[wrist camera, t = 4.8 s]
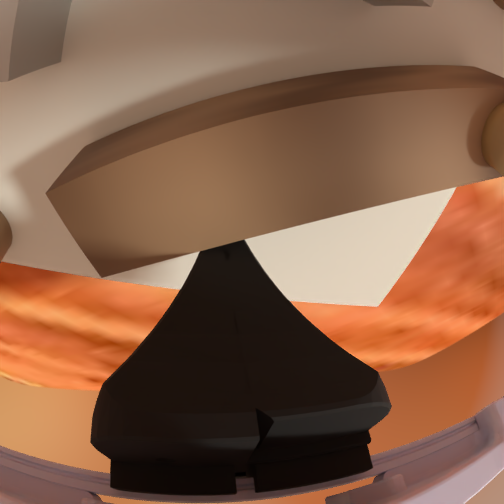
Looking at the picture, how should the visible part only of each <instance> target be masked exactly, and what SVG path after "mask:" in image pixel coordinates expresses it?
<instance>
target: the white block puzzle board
mask: <svg viewBox="0 0 504 504" xmlns="http://www.w3.org/2000/svg"><path fill="white" fill-rule="evenodd" d="M407 65H456V66H475V67H478V68H480V69H483V70H486V71H488V72H491V73H493V74H496V75H498V76H501V77H503V78H504V0H0V263H1V261H2V262H7V263H12V264H17V265H23V266H28V267H33V268H39V269H45V270H50V271H56V272H62V273H68V274H74V275H80V276H86V277H93V278H99V279H106V280H113V281H120V282H127V283H134V284H141V285H148V286H156V287H164V288H172V289H181V288H182V286H183V284H184V282H185V281H186V279H187V277H188V275H189V273H190V271H191V269H192V267H193V265H194V263H195V261H196V259H197V256H198V254H199V252H200V251H199V252H195V253H192V254H188V255H184V256H180V257H177V258H173V259H169V260H165V261H162V262H158V263H154V264H151V265H147V266H143V267H140V268H136V269H132V270H129V271H125V272H122V273H118V274H114V275H111V276H107V277H103V278H101V277H100V275H99V274H98V272H97V271H96V270H95V268H94V267H93V266H92V264H91V263H90V261H89V260H88V259H87V257H86V256H85V254H84V253H83V251H82V250H81V249H80V247H79V246H78V244H77V243H76V241H75V240H74V238H73V237H72V235H71V234H70V232H69V231H68V229H67V228H66V226H65V224H64V223H63V221H62V220H61V218H60V217H59V215H58V213H57V212H56V210H55V209H54V207H53V205H52V204H51V202H50V200H49V199H48V197H47V195H46V194H45V193H46V192H47V190H48V189H49V188H50V187H51V185H52V184H53V183H54V182H55V180H56V179H57V178H58V177H59V175H60V174H61V173H62V172H63V171H64V169H65V168H66V167H67V166H68V165H69V163H70V162H71V161H72V160H73V159H74V158H75V156H76V155H77V154H78V153H79V152H80V151H81V150H82V149H83V148H84V146H86V145H88V144H90V143H93V142H95V141H97V140H99V139H101V138H104V137H106V136H108V135H110V134H113V133H115V132H117V131H120V130H122V129H124V128H127V127H129V126H132V125H134V124H137V123H139V122H142V121H144V120H147V119H150V118H152V117H155V116H158V115H161V114H163V113H166V112H169V111H172V110H175V109H178V108H181V107H184V106H187V105H190V104H193V103H196V102H199V101H203V100H206V99H209V98H213V97H216V96H220V95H223V94H227V93H231V92H234V91H238V90H242V89H246V88H250V87H255V86H259V85H263V84H268V83H272V82H277V81H282V80H287V79H292V78H298V77H303V76H309V75H315V74H322V73H329V72H336V71H344V70H353V69H362V68H373V67H387V66H407ZM455 189H456V187H454V188H450V189H446V190H442V191H437V192H433V193H429V194H425V195H421V196H416V197H412V198H408V199H404V200H400V201H396V202H392V203H387V204H383V205H379V206H375V207H371V208H367V209H363V210H359V211H355V212H351V213H347V214H343V215H339V216H335V217H331V218H327V219H323V220H319V221H315V222H311V223H307V224H303V225H299V226H295V227H291V228H287V229H283V230H279V231H275V232H272V233H268V234H264V235H260V236H256V237H252V238H248V239H245V241H246V243H247V244H248V246H249V248H250V249H251V251H252V253H253V254H254V256H255V257H256V259H257V260H258V262H259V263H260V265H261V266H262V268H263V269H264V270H265V272H266V273H267V275H268V276H269V277H270V279H271V280H272V281H273V282H274V284H275V285H276V286H277V287H278V289H279V290H280V291H281V292H282V293H283V295H284V296H285V297H286V298H287V299H288V300H289V301H299V302H312V303H326V304H341V305H357V306H376V307H378V306H379V304H380V303H381V302H382V300H383V299H384V298H385V296H386V295H387V294H388V292H389V291H390V290H391V288H392V287H393V285H394V284H395V283H396V281H397V280H398V279H399V277H400V276H401V274H402V273H403V272H404V270H405V269H406V267H407V266H408V264H409V263H410V261H411V260H412V259H413V257H414V256H415V254H416V253H417V251H418V250H419V248H420V247H421V245H422V243H423V242H424V240H425V239H426V237H427V236H428V234H429V233H430V231H431V229H432V228H433V226H434V225H435V223H436V221H437V220H438V218H439V216H440V215H441V213H442V211H443V210H444V208H445V206H446V205H447V203H448V201H449V199H450V198H451V196H452V194H453V192H454V191H455Z"/></svg>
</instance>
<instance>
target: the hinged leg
mask: <svg viewBox="0 0 504 504" xmlns="http://www.w3.org/2000/svg"><path fill="white" fill-rule="evenodd" d="M502 176H504V78H503V77H501V76H498V75H496V74H493V73H491V72H488V71H486V70H483V69H480V68H478V67H475V66H456V65H407V66H387V67H373V68H362V69H353V70H344V71H336V72H329V73H322V74H315V75H309V76H303V77H298V78H292V79H287V80H282V81H277V82H272V83H268V84H263V85H259V86H255V87H250V88H246V89H242V90H238V91H234V92H231V93H227V94H223V95H220V96H216V97H213V98H209V99H206V100H203V101H199V102H196V103H193V104H190V105H187V106H184V107H181V108H178V109H175V110H172V111H169V112H166V113H163V114H161V115H158V116H155V117H152V118H150V119H147V120H144V121H142V122H139V123H137V124H134V125H132V126H129V127H127V128H124V129H122V130H120V131H117V132H115V133H113V134H110V135H108V136H106V137H104V138H101V139H99V140H97V141H95V142H93V143H90V144H88V145H86V146H84V148H83V149H82V150H81V151H80V152H79V153H78V154H77V155H76V156H75V158H74V159H73V160H72V161H71V162H70V163H69V165H68V166H67V167H66V168H65V169H64V171H63V172H62V173H61V174H60V175H59V177H58V178H57V179H56V180H55V182H54V183H53V184H52V185H51V187H50V188H49V189H48V190H47V192H46V193H45V194H46V195H47V197H48V199H49V200H50V202H51V204H52V205H53V207H54V209H55V210H56V212H57V213H58V215H59V217H60V218H61V220H62V221H63V223H64V224H65V226H66V228H67V229H68V231H69V232H70V234H71V235H72V237H73V238H74V240H75V241H76V243H77V244H78V246H79V247H80V249H81V250H82V251H83V253H84V254H85V256H86V257H87V259H88V260H89V261H90V263H91V264H92V266H93V267H94V268H95V270H96V271H97V272H98V274H99V275H100V277H101V278H103V277H107V276H111V275H114V274H118V273H122V272H125V271H129V270H132V269H136V268H140V267H143V266H147V265H151V264H154V263H158V262H162V261H165V260H169V259H173V258H177V257H180V256H184V255H188V254H192V253H195V252H199V251H203V250H207V249H210V248H214V247H218V246H222V245H225V244H229V243H233V242H237V241H241V240H245V239H248V238H252V237H256V236H260V235H264V234H268V233H272V232H275V231H279V230H283V229H287V228H291V227H295V226H299V225H303V224H307V223H311V222H315V221H319V220H323V219H327V218H331V217H335V216H339V215H343V214H347V213H351V212H355V211H359V210H363V209H367V208H371V207H375V206H379V205H383V204H387V203H392V202H396V201H400V200H404V199H408V198H412V197H416V196H421V195H425V194H429V193H433V192H437V191H442V190H446V189H450V188H454V187H459V186H463V185H467V184H472V183H476V182H480V181H485V180H489V179H494V178H498V177H502Z"/></svg>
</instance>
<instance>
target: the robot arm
mask: <svg viewBox="0 0 504 504" xmlns="http://www.w3.org/2000/svg"><path fill="white" fill-rule="evenodd" d="M390 409H391V403H390V400H389V397H388V394H387V391H386V388H385V386H384V384H383V382H382V380H381V378H380V376H379V373H378V372H377V371H376V370H374V369H373V368H371V367H370V366H368V365H366V364H365V363H363V362H362V361H360V360H359V359H357V358H356V357H354V356H352V355H351V354H349V353H348V352H347V351H345V350H344V349H342V348H341V347H340V346H338V345H337V344H336V343H335V342H333V341H332V340H331V339H329V338H328V337H327V336H326V335H325V334H323V333H322V332H321V331H320V330H319V329H318V328H317V327H315V326H314V325H313V324H312V323H311V322H310V321H309V320H307V319H306V318H305V317H304V316H303V315H302V314H301V313H300V312H299V311H298V310H297V309H296V308H295V307H294V306H293V304H292V303H291V302H290V301H289V300H288V299H287V298H286V297H285V296H284V295H283V293H282V292H281V291H280V290H279V289H278V287H277V286H276V285H275V284H274V282H273V281H272V280H271V279H270V277H269V276H268V275H267V273H266V272H265V270H264V269H263V268H262V266H261V265H260V263H259V262H258V260H257V259H256V257H255V256H254V254H253V253H252V251H251V249H250V248H249V246H248V244H247V243H246V241H245V240H241V241H237V242H233V243H229V244H225V245H222V246H218V247H214V248H210V249H207V250H203V251H200V252H199V254H198V256H197V259H196V261H195V263H194V265H193V267H192V269H191V271H190V273H189V275H188V277H187V279H186V281H185V282H184V284H183V286H182V288H181V289H180V291H179V293H178V294H177V296H176V297H175V299H174V301H173V302H172V304H171V305H170V307H169V308H168V310H167V311H166V312H165V314H164V315H163V317H162V318H161V319H160V321H159V322H158V323H157V325H156V326H155V327H154V329H153V330H152V331H151V332H150V334H149V335H148V336H147V337H146V338H145V339H144V341H143V342H142V343H141V344H140V345H139V346H138V348H137V349H136V350H135V351H134V352H133V353H132V355H131V356H130V357H129V358H128V359H127V360H126V361H125V362H124V363H123V364H122V365H121V366H120V367H119V368H118V369H117V370H116V371H115V372H114V373H113V374H112V375H111V376H110V377H109V378H108V379H107V380H106V381H105V382H104V383H103V385H102V387H101V390H100V392H99V395H98V398H97V401H96V405H95V409H94V413H93V418H92V429H91V444H92V445H93V446H94V447H95V448H96V449H97V450H98V451H99V452H101V453H102V454H104V455H105V456H107V457H108V458H109V459H111V468H110V474H109V473H103V472H96V471H91V470H86V469H81V468H76V467H71V466H67V465H63V464H58V463H54V462H50V461H47V460H43V459H39V458H36V457H33V456H29V455H26V454H23V453H19V452H17V451H14V450H10V449H8V448H5V447H2V446H0V504H111V503H106V502H103V501H102V500H101V498H100V497H99V496H98V495H97V494H100V495H107V496H112V497H119V498H127V499H135V500H144V501H145V500H146V501H156V502H157V501H158V502H175V503H224V502H242V501H253V500H263V499H272V498H279V497H286V496H292V495H298V494H304V493H309V492H314V491H319V490H324V489H328V488H333V487H337V486H341V485H345V484H348V483H352V482H356V481H359V480H363V479H366V478H370V477H373V476H376V475H377V476H376V477H375V478H374V481H373V483H372V484H369V485H366V486H363V487H359V488H356V489H353V490H349V491H347V492H343V493H340V494H336V495H333V496H329V497H326V499H325V501H326V504H464V503H466V502H467V501H468V500H469V499H470V498H472V497H473V496H474V495H475V494H476V493H478V492H479V491H480V490H481V489H482V488H483V487H485V486H486V485H487V484H488V483H489V482H490V481H491V480H492V479H493V478H494V477H495V476H496V475H497V474H498V473H500V472H501V471H502V470H503V469H504V396H503V397H501V398H500V399H498V400H496V401H494V402H492V403H491V404H489V405H488V406H486V407H485V408H483V409H482V410H480V411H479V412H478V413H476V415H474V416H473V417H470V418H468V419H466V420H464V421H462V422H460V423H458V424H456V425H454V426H452V427H449V428H447V429H444V430H442V431H440V432H437V433H435V434H433V435H430V436H428V437H425V438H422V439H420V440H417V441H415V442H412V443H409V444H406V445H403V446H400V447H397V448H394V449H391V450H388V451H385V452H382V453H378V454H375V455H372V456H370V454H369V450H368V446H367V444H369V443H370V442H371V437H370V434H369V429H370V428H372V427H373V426H374V425H376V424H377V423H378V422H380V420H382V419H383V418H384V417H385V416H386V415H387V414H388V413H389V411H390ZM94 493H95V494H94Z"/></svg>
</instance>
